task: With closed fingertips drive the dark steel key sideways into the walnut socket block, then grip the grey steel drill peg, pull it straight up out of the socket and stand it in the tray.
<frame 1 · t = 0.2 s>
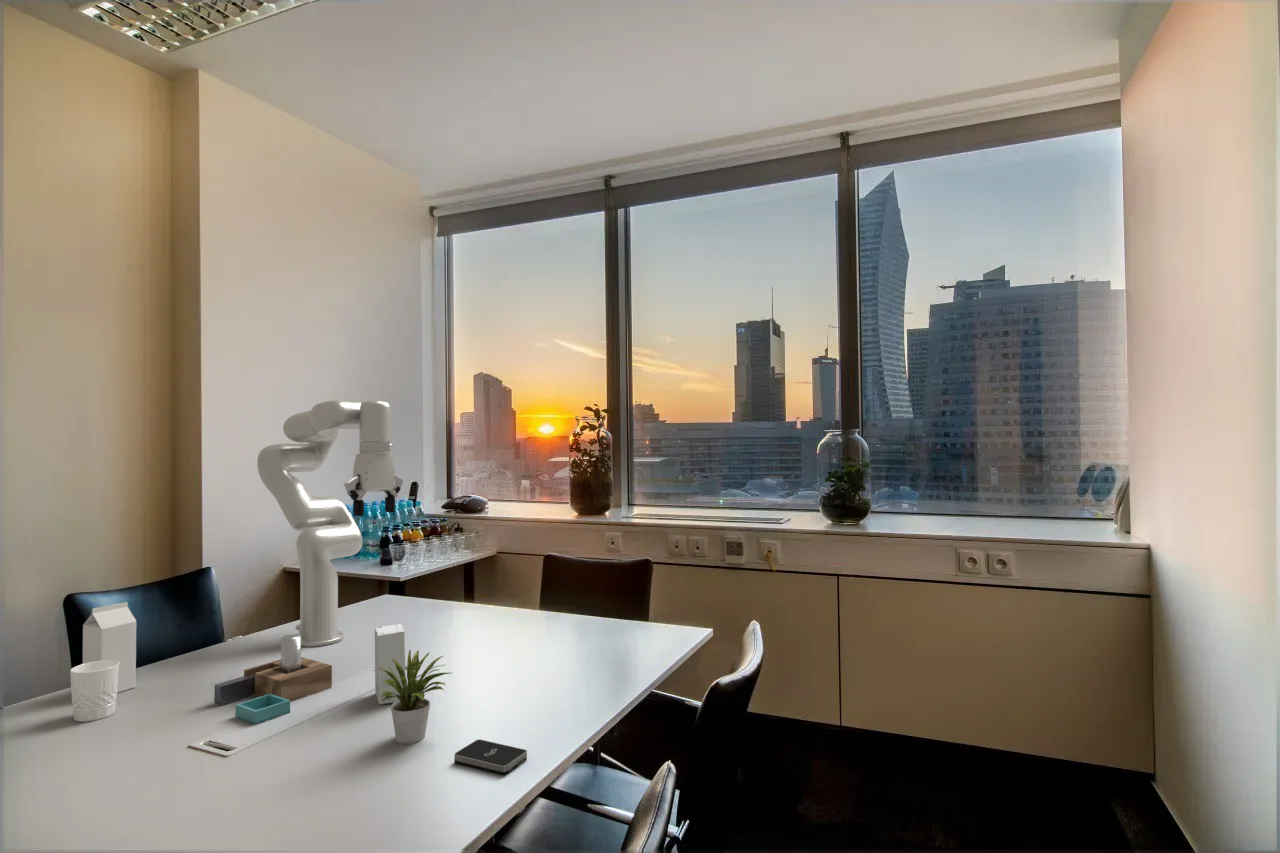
hand: (374, 513, 183), 37 cm above the table, tool pointing down, fingers open, 9 cm apart
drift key: (236, 689, 151), point 2 cm above the table, slide at 0.0 cm
house plant: (407, 741, 130), on the table
drill peg: (291, 663, 156), in the socket block
milk carton: (109, 691, 157), on the table
socket block: (290, 690, 156), on the table
tray: (262, 714, 143), on the table
external hard drive: (490, 765, 122), on the table
skincare box: (389, 698, 152), on the table
white cup: (94, 716, 143), on the table
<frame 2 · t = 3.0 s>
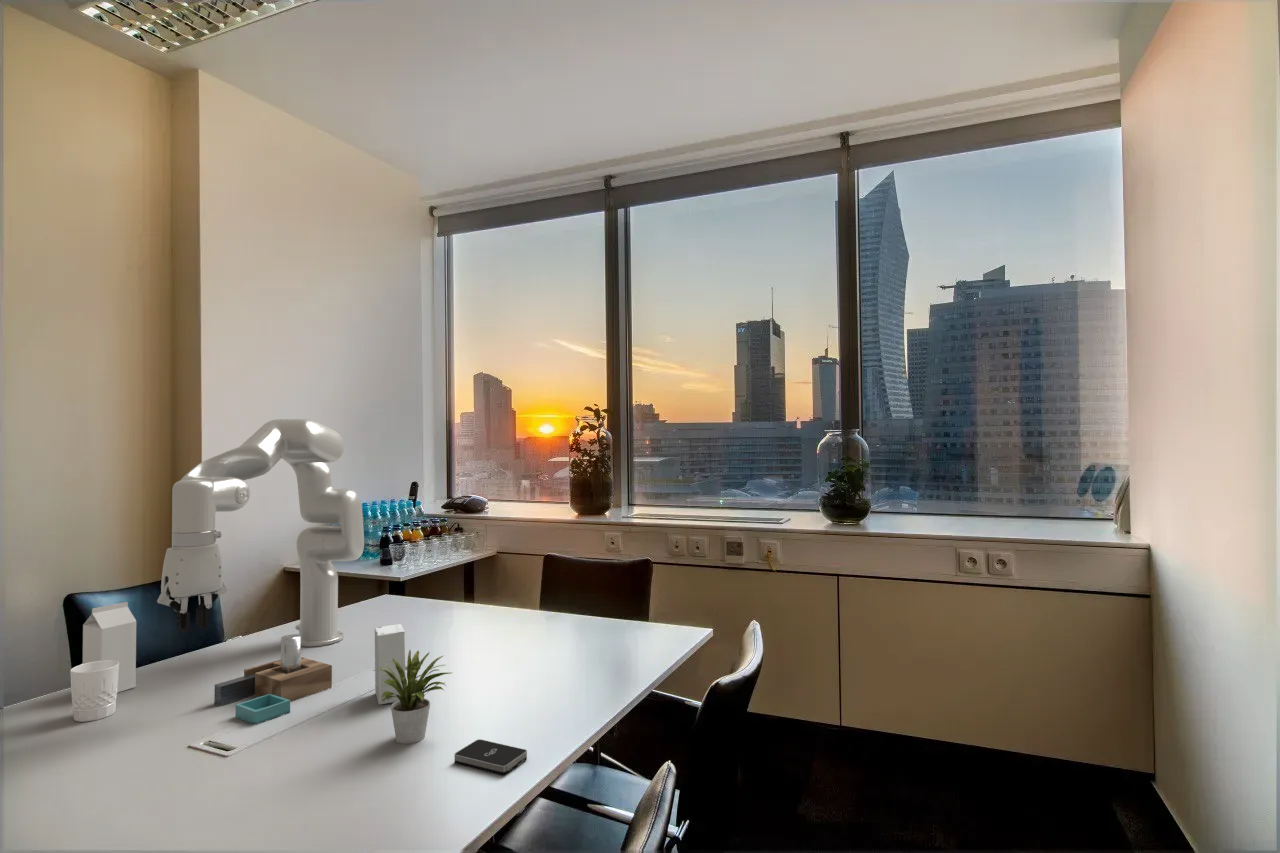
hand: (192, 628, 144), 17 cm above the table, tool pointing down, fingers closed
nothing on the table moved.
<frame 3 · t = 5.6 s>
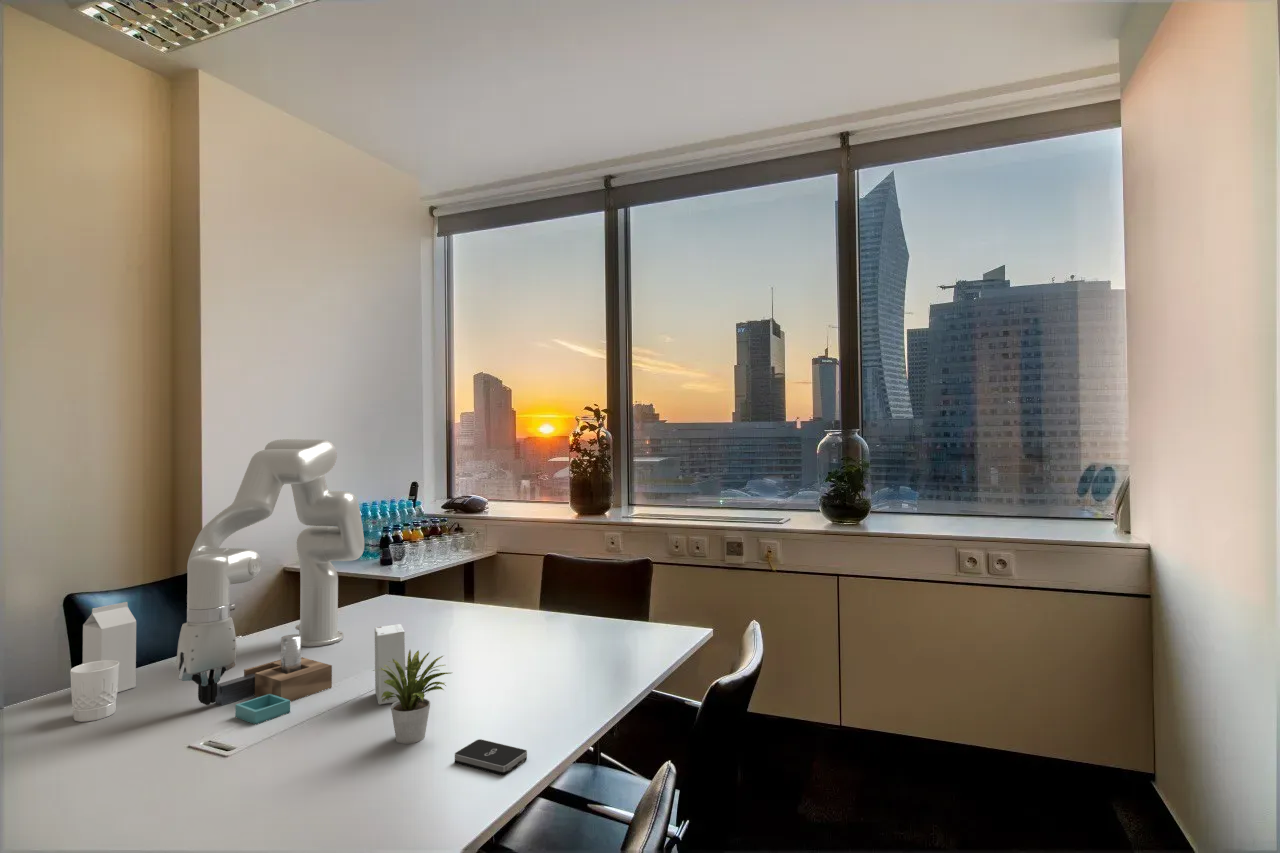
hand: (207, 702, 146), 1 cm above the table, tool pointing down, fingers closed
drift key: (237, 689, 152), point 2 cm above the table, slide at 0.2 cm, touching gripper
everything else where it was.
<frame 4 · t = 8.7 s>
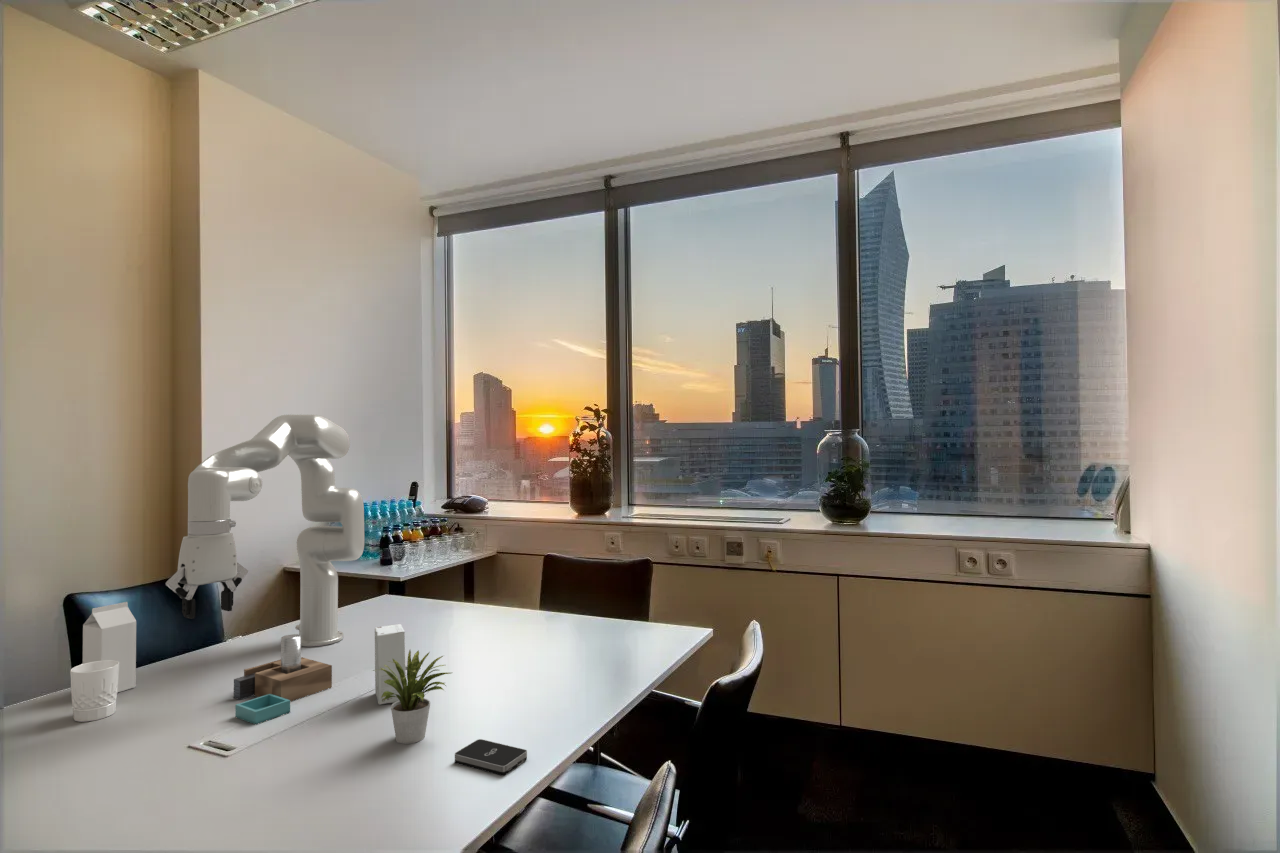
hand: (208, 613, 147), 20 cm above the table, tool pointing down, fingers open, 6 cm apart
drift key: (255, 683, 155), point 2 cm above the table, slide at 4.0 cm
everything else where it was.
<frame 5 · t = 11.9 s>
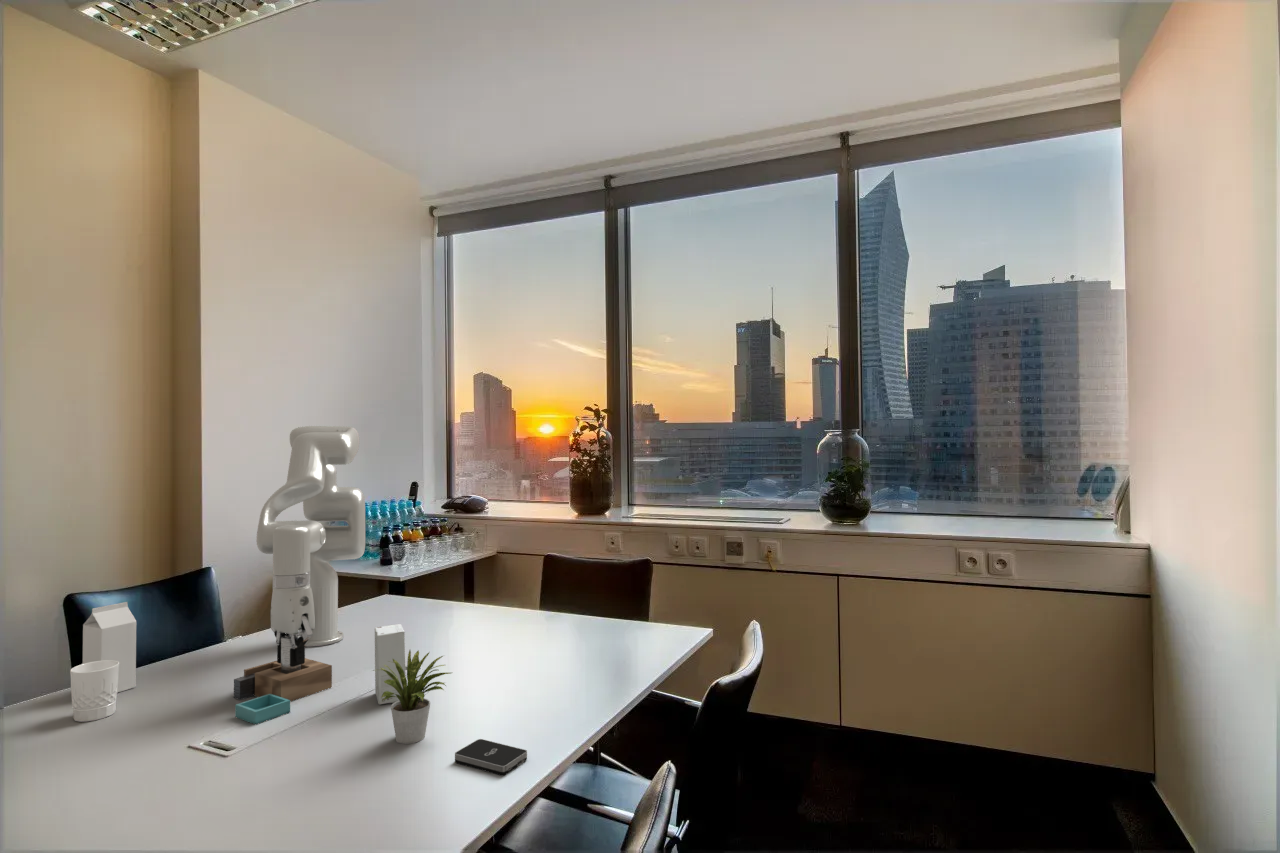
hand: (290, 662, 156), 6 cm above the table, tool pointing down, fingers closed on drill peg, 4 cm apart
drill peg: (291, 663, 156), in the socket block, touching gripper
everything else where it was.
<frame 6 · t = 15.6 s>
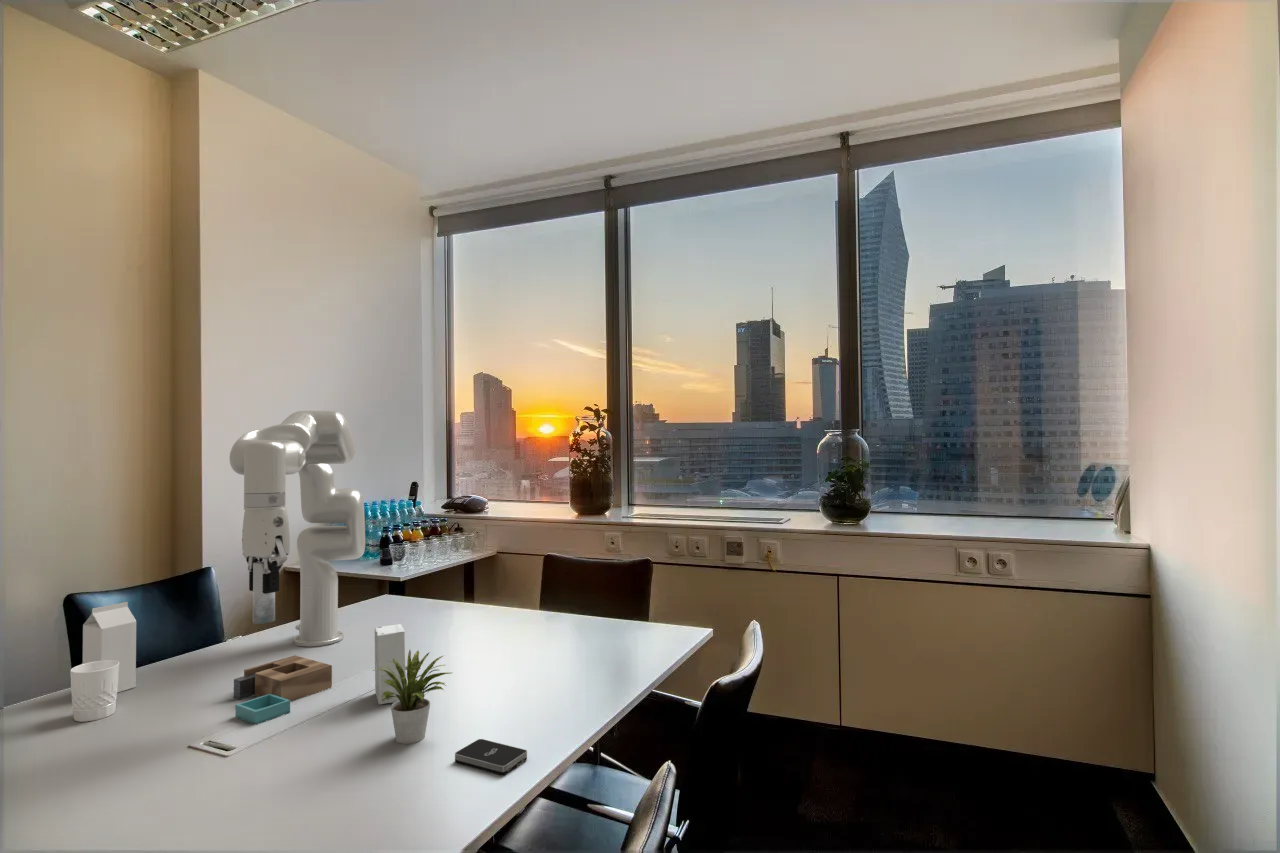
hand: (264, 590, 143), 25 cm above the table, tool pointing down, fingers closed on drill peg, 4 cm apart
drill peg: (264, 591, 143), point 25 cm above the table, touching gripper
everything else where it was.
when the fingers open (8 cm above the table, at t = 19.1 s): drill peg drops 1 cm, resting on tray.
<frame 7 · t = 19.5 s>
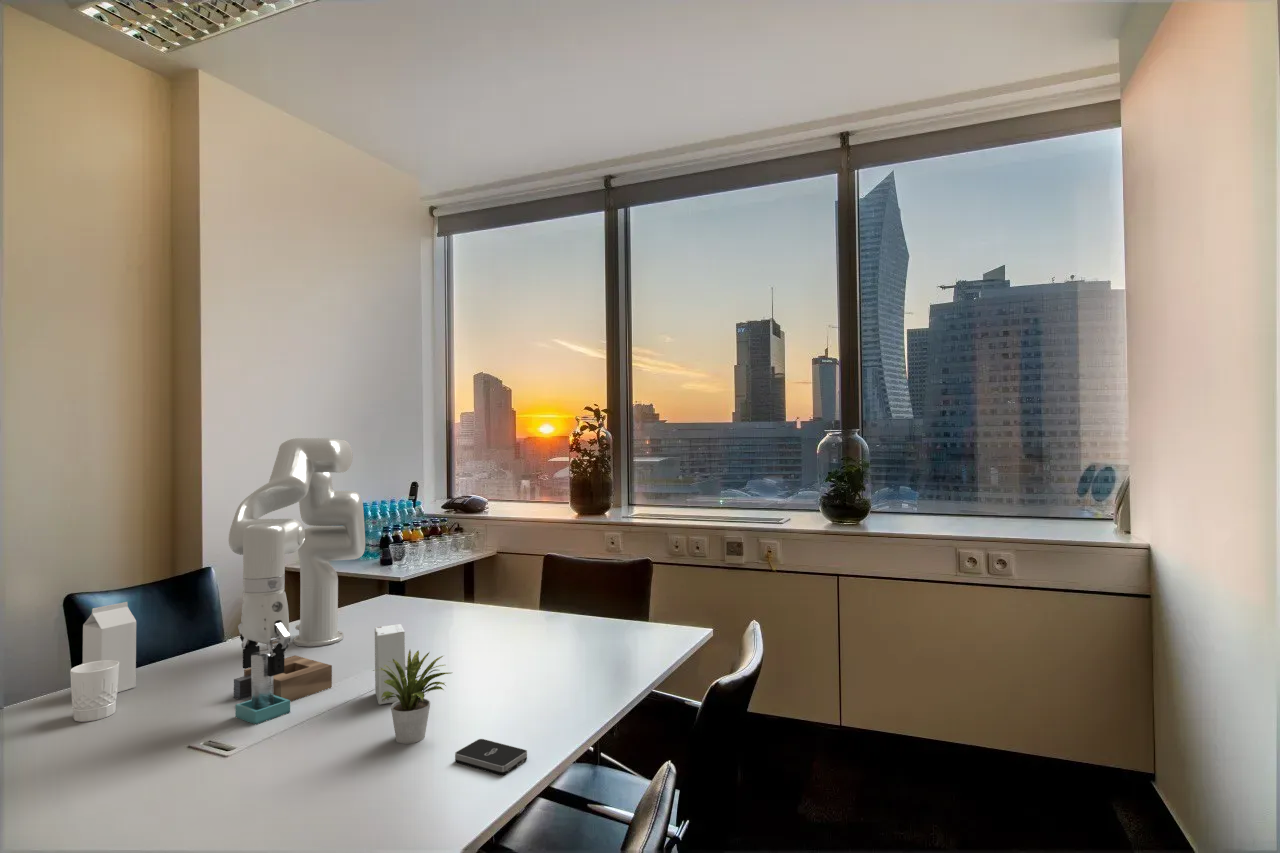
hand: (263, 670, 143), 9 cm above the table, tool pointing down, fingers open, 8 cm apart
drill peg: (262, 683, 143), in the tray
everything else where it was.
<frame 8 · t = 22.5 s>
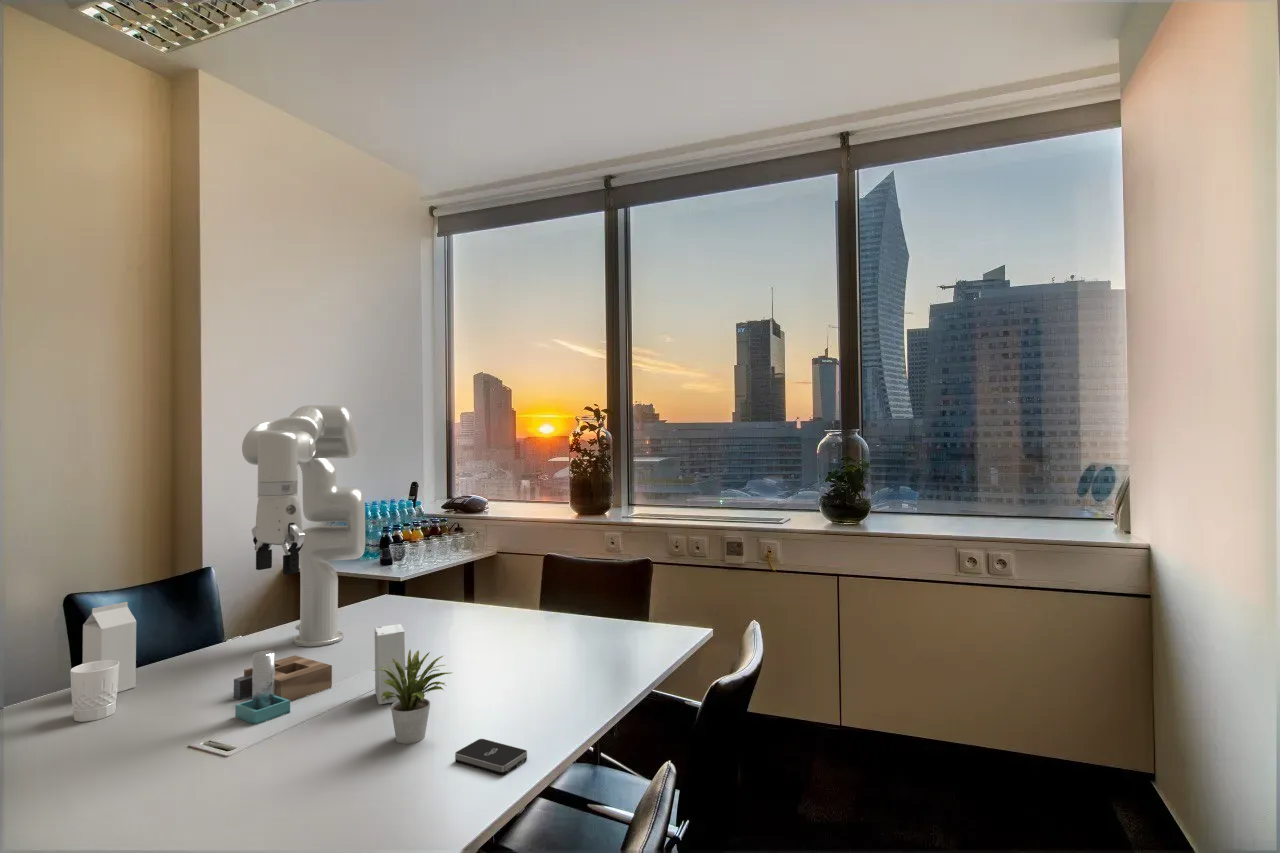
hand: (277, 571, 148), 28 cm above the table, tool pointing down, fingers open, 9 cm apart
nothing on the table moved.
at the end: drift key slide at 4.0 cm; drill peg 0.1 cm off-centre on the tray, point 6.4 cm above the tray's base; drill peg tilted 1° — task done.
